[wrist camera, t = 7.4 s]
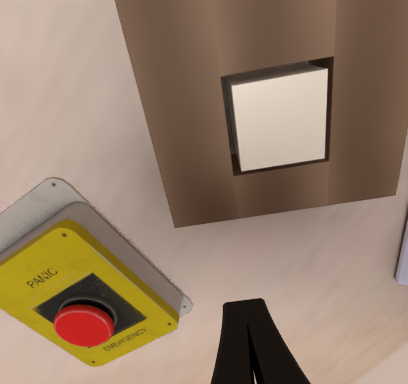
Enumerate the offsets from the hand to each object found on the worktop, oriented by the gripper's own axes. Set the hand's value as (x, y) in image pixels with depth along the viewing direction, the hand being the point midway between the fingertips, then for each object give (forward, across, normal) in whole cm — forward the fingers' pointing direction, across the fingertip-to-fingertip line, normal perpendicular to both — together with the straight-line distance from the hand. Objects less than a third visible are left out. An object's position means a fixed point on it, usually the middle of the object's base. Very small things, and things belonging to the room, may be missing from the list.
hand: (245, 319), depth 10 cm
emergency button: (+10, +11, +6) cm, 16 cm away
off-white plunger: (+9, -3, -5) cm, 11 cm away
